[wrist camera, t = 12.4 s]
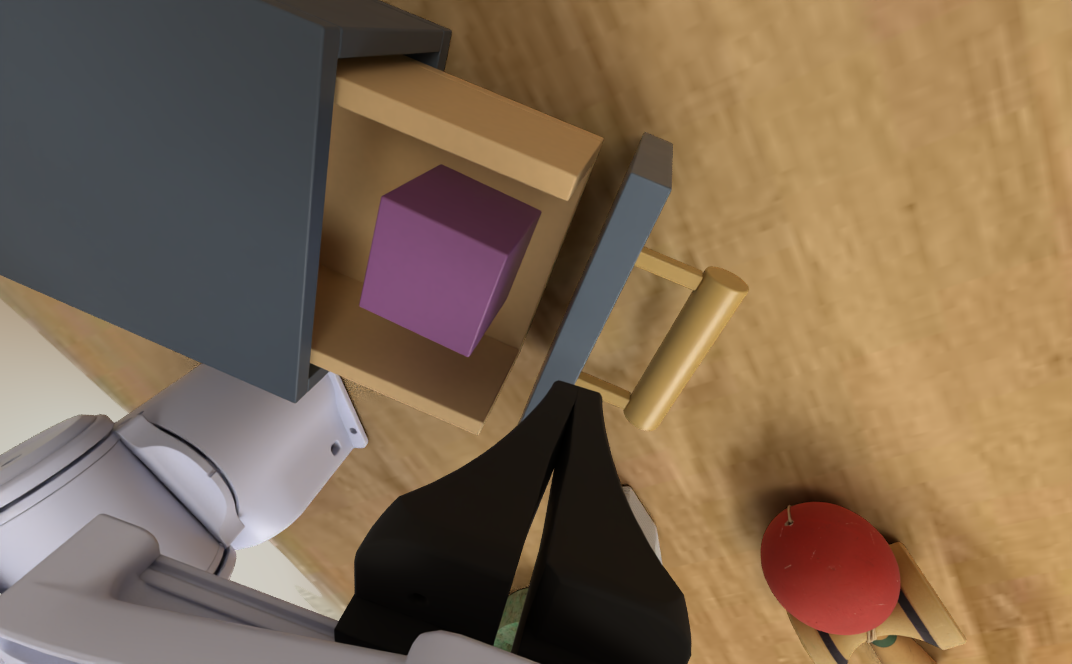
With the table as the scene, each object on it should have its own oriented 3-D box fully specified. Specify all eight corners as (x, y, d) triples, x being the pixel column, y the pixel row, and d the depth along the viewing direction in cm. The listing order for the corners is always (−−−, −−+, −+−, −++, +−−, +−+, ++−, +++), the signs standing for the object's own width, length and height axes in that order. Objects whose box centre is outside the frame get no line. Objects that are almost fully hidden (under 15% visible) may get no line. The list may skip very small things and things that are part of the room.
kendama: (1000, 632, 30) (881, 466, 23) (1044, 765, 26) (915, 608, 19) (858, 630, 35) (726, 491, 28) (876, 741, 31) (725, 609, 24)
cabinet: (452, 30, 20) (324, 26, 12) (396, 307, 27) (295, 404, 20) (98, -116, 20) (-225, -201, 13) (138, 196, 28) (-52, 253, 20)
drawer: (776, 186, 19) (819, 250, 13) (636, 411, 26) (625, 518, 20) (327, 0, 19) (182, -15, 14) (306, 269, 26) (204, 334, 20)
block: (440, 162, 20) (380, 195, 16) (542, 210, 20) (508, 255, 16) (415, 257, 23) (357, 306, 19) (506, 300, 23) (468, 358, 19)
